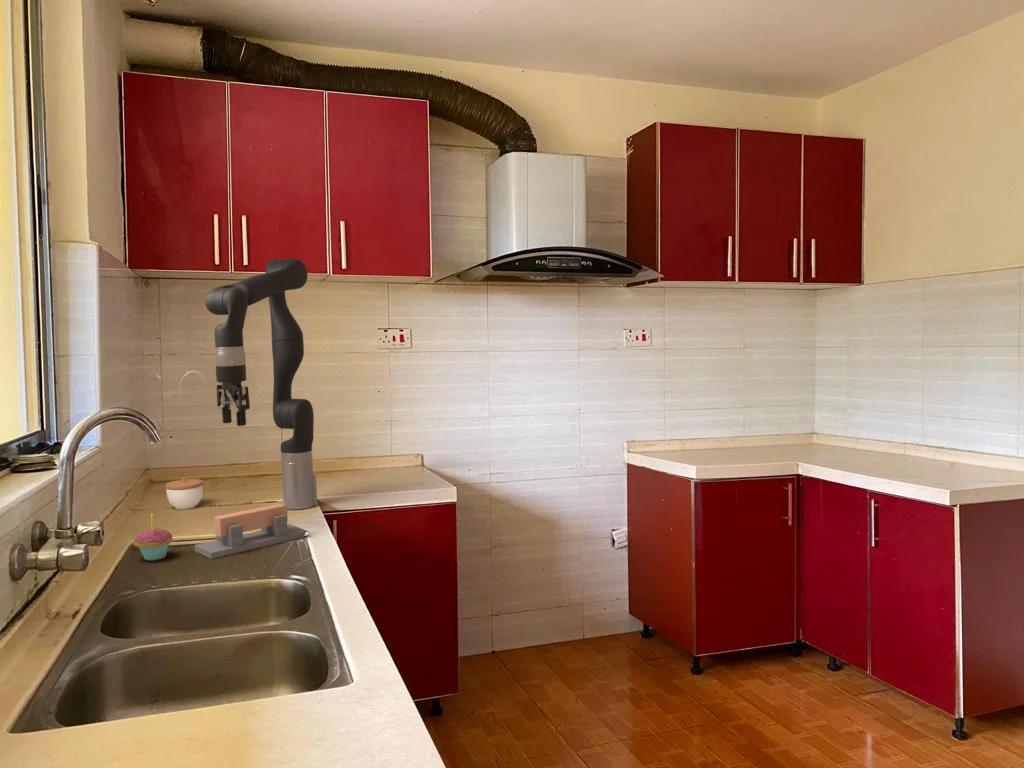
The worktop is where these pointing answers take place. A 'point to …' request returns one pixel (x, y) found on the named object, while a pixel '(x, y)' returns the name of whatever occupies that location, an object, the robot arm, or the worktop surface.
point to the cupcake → (153, 542)
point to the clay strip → (249, 518)
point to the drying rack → (250, 538)
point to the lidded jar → (184, 493)
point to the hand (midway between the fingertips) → (234, 424)
